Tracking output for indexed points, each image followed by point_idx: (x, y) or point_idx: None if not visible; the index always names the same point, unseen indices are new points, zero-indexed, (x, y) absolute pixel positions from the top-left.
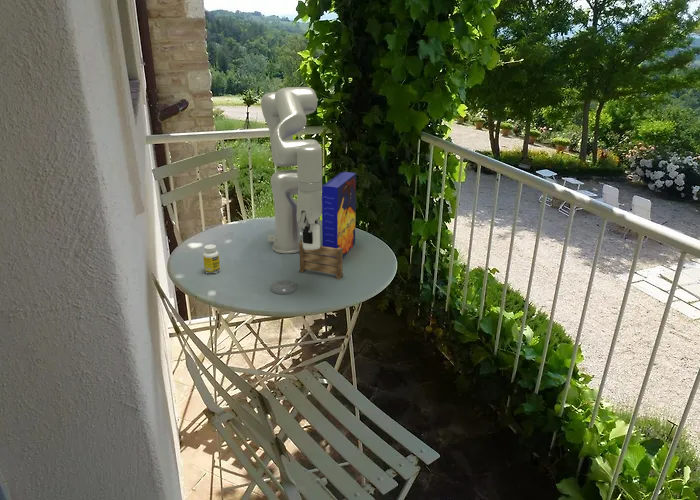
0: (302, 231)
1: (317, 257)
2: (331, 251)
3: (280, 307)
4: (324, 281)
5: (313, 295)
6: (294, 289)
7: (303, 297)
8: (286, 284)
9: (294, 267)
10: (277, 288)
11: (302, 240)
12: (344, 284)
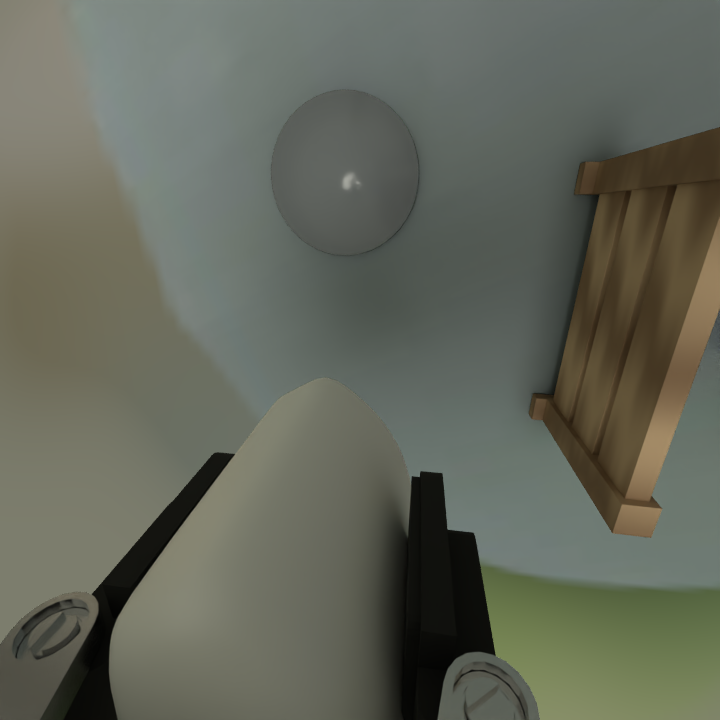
0: (48, 607)
1: (622, 310)
2: (626, 446)
3: (175, 258)
4: (485, 351)
5: (330, 352)
6: (334, 251)
7: (296, 317)
8: (371, 180)
9: (650, 94)
10: (309, 153)
11: (283, 418)
12: (478, 443)
